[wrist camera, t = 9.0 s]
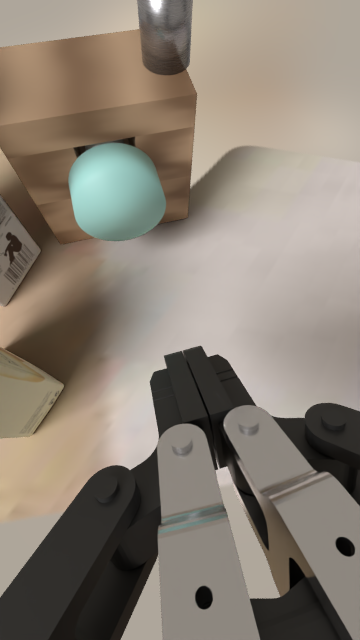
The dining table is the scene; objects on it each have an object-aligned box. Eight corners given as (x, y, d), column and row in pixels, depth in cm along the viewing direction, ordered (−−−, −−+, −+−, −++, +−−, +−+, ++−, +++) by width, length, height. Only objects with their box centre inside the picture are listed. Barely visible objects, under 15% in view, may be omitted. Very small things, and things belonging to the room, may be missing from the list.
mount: (168, 163, 30) (167, 25, 19) (187, 217, 28) (197, 93, 17) (51, 186, 28) (-18, 49, 18) (60, 244, 26) (-13, 127, 16)
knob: (129, 112, 26) (118, 28, 21) (166, 231, 22) (165, 165, 17) (63, 123, 26) (33, 39, 20) (88, 248, 21) (59, 185, 16)
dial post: (184, 40, 19) (188, -80, 14) (199, 73, 18) (208, -46, 13) (133, 47, 19) (121, -75, 14) (145, 81, 17) (136, -39, 13)
